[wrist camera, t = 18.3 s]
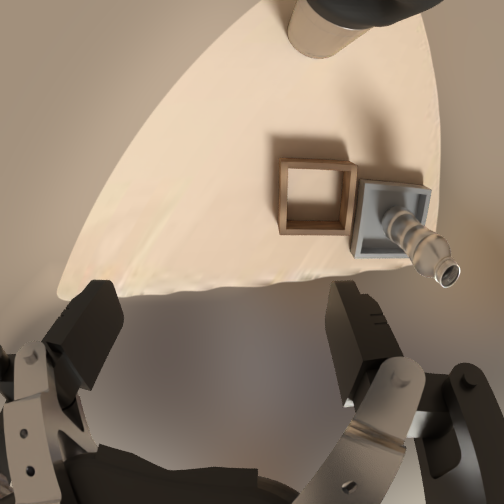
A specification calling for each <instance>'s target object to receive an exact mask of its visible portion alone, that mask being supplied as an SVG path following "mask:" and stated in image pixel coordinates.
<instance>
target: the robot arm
mask: <svg viewBox="0 0 504 504" xmlns="http://www.w3.org/2000/svg"><path fill="white" fill-rule="evenodd" d="M442 1H443V0H297V2H296V5H295V8H294V11H293V14H292V17H291V19H290V22H289V25H288V29H287V34H288V38H289V41H290V42H291V44H292V45H293V47H294V48H295V49H296V50H298V51H299V52H300V53H302V54H304V55H306V56H308V57H311V58H317V59H323V58H328V57H331V56H333V55H335V54H336V53H337V52H339V51H340V50H342V49H343V48H344V47H346V46H347V45H349V44H350V43H351V42H353V41H354V40H356V39H357V38H358V37H360V36H361V35H363V34H364V33H366V32H367V31H368V30H370V29H371V28H373V27H383V26H389V25H392V24H394V23H396V22H398V21H401V20H403V19H406V18H408V17H411V16H413V15H416V14H419V13H421V12H423V11H426V10H428V9H430V8H432V7H434V6H436V5H437V4H439V3H440V2H442ZM123 322H124V315H123V311H122V308H121V305H120V303H119V300H118V297H117V294H116V291H115V288H114V285H113V283H112V282H111V281H110V280H92V281H91V282H90V283H89V284H88V285H87V286H86V288H85V289H84V290H83V291H82V292H81V293H80V294H79V295H77V296H76V297H75V298H73V299H72V300H71V302H70V303H69V304H68V305H67V307H66V310H64V311H63V312H62V313H61V316H60V317H58V319H57V320H56V321H55V323H54V324H53V326H52V327H51V328H50V330H49V331H48V332H47V334H46V335H45V337H44V338H43V340H42V341H41V342H40V341H31V342H28V343H26V344H25V345H23V346H22V347H21V348H20V349H19V351H18V352H17V354H9V355H7V354H6V353H5V351H4V350H3V348H2V347H1V345H0V393H1V394H2V395H3V396H4V397H5V398H6V402H5V404H4V406H3V409H2V411H1V413H0V504H380V503H381V502H382V500H383V498H384V496H385V495H386V493H387V491H388V489H389V487H390V485H391V483H392V482H393V480H394V478H395V476H396V474H397V472H398V470H399V467H400V465H401V463H402V461H403V458H404V456H405V453H406V446H404V442H405V439H406V437H414V441H415V446H416V450H417V455H418V460H419V464H420V470H421V475H422V481H423V487H424V493H425V500H426V504H504V417H503V415H502V412H501V410H500V407H499V405H498V403H497V400H496V398H495V396H494V394H493V391H492V389H491V387H490V385H489V383H488V381H487V379H486V377H485V375H484V373H483V372H482V371H481V370H480V369H479V368H478V367H477V366H475V365H473V364H470V363H460V364H458V365H456V366H455V367H454V368H453V369H452V371H451V373H450V374H449V375H446V374H432V373H425V372H424V371H423V369H422V368H421V367H420V365H419V364H418V363H416V362H415V361H413V360H411V359H409V358H406V357H404V356H403V353H402V351H401V349H400V347H399V345H398V343H397V341H396V338H395V336H394V334H393V332H392V330H391V328H390V326H389V324H387V320H386V318H385V316H384V315H383V312H382V310H381V308H380V306H379V304H378V303H377V302H376V301H375V300H374V299H373V298H372V297H370V296H369V295H368V294H360V292H359V290H358V288H357V286H356V284H355V282H354V281H353V280H347V281H332V282H331V285H330V292H329V297H328V303H327V309H326V315H325V330H326V335H327V339H328V343H329V347H330V351H331V355H332V359H333V363H334V368H335V372H336V376H337V381H338V385H339V389H340V394H341V399H342V404H343V407H349V406H354V408H355V412H356V414H355V415H354V417H353V419H352V421H351V423H350V424H349V425H348V427H347V429H346V430H345V432H344V433H343V435H342V437H341V438H340V440H339V441H338V443H337V444H336V446H335V447H334V449H333V451H332V452H331V453H330V455H329V456H328V458H327V459H326V460H325V462H324V463H323V465H322V466H321V467H320V469H319V470H318V471H317V473H316V474H315V476H314V477H313V478H312V480H311V481H310V482H309V483H308V485H307V486H306V487H305V488H304V489H303V491H302V492H301V493H299V492H297V491H296V490H294V489H293V488H290V487H289V486H287V485H285V484H283V483H280V482H278V481H275V480H271V479H269V478H265V477H261V476H258V469H247V468H246V469H245V468H224V467H208V468H199V469H188V470H174V471H173V470H167V469H164V468H162V467H160V466H157V465H155V464H153V463H151V462H149V461H147V460H145V459H143V458H140V457H138V456H137V455H135V454H133V453H129V452H126V451H122V450H118V449H115V448H111V447H108V446H105V445H102V444H99V447H97V445H96V444H95V442H94V440H93V439H92V436H91V434H90V430H89V427H88V424H87V421H86V417H85V414H84V410H83V406H82V403H81V398H80V396H79V394H78V393H77V392H78V390H79V388H82V389H86V390H90V391H91V390H92V388H93V386H94V383H95V381H96V379H97V377H98V375H99V373H100V371H101V368H102V366H103V364H104V362H105V360H106V358H107V356H108V354H109V352H110V350H111V348H112V346H113V344H114V342H115V340H116V338H117V336H118V334H119V332H120V330H121V329H122V327H123ZM11 481H12V486H13V488H12V487H10V483H11Z"/></svg>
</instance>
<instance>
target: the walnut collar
mask: <svg viewBox="0 0 504 504" xmlns="http://www.w3.org/2000/svg"><path fill="white" fill-rule="evenodd" d="M288 168H294V169H321V170H339V171H344V173H343V185H342V197H341V207H340V216H339V221H291V220H286V218H287V186H288ZM356 178H357V165H356V164H354V163H352V162H350V161H339V160H323V159H301V158H279V213H278V228H279V234H280V235H339V236H350V231H351V223H352V215H353V207H354V198H355V189H356Z"/></svg>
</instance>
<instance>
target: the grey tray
mask: <svg viewBox="0 0 504 504" xmlns="http://www.w3.org/2000/svg"><path fill="white" fill-rule="evenodd" d="M431 191H432V190H431V189H429V188H427V187H425V186H424V185H416V184H407V183H398V182H388V181H378V180H366V179H359V186H358V195H357V204H356V212H355V220H354V228H353V235H352V241H351V248H350V252H351V254H352V255H353V257H354V259H369V258H409V257H408V256H407V254H406V253H405V252H404V250H403V249H402V248H401V247H399V246H398V245H397V244H395V243H394V242H392V241H390V240H389V239H388V238H387V237H386V236H385V234H384V232H383V230H382V219H383V216H384V214H385V213H386V212H387V210H389V209H390V208H391V207H394V206H402V207H405V208H407V209H409V210H410V211H411V213H412V214H413V215H414V216H415V218H416V219H417V220H418V221H419V222H420V223H421V224H422V225H424V226H425V222H426V218H427V213H428V208H429V202H430V197H431Z"/></svg>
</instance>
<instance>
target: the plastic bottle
mask: <svg viewBox="0 0 504 504" xmlns="http://www.w3.org/2000/svg"><path fill="white" fill-rule="evenodd" d="M382 230H383V232H384V234H385V236H386V237H387V238H388V239H389V240H390V241H392V242H394V243H395V244H397V245H398V246H399V247H401V248H402V249H403V250H404V252H405V253H406V254H407V256H408V257H409V258H410V260H411V262H412V264H413V265H414V267H415V269H416V270H417V272H418V273H419V274H421V275H423V276H425V277H430V278H431V277H432V278H435V280H436V281H437V282H439V284H440V285H441V286H442V287H444V288H447V287H450V286H452V285H453V284H454V283H455V282H456V281H457V279H458V277H459V275H460V267H459V265H458V264H457V263H456V262H455V260H454V259H453V258H452V257H451V250H450V246H449V244H448V242H447V240H446V239H445V238H444V237H442V236H441V235H439V234H437V233H435V232H433V231H431V230H429V229H428V228H426V227H425V226H424V225H422V224H421V223H420V222H419V221H418V220H417V219H416V218H415V216H414V215H413V214H412V213H411V211H410V210H409V209H407V208H405V207H402V206H394V207H391V208H390V209H389V210H387V212H386V213H385V214H384V216H383V219H382Z"/></svg>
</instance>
